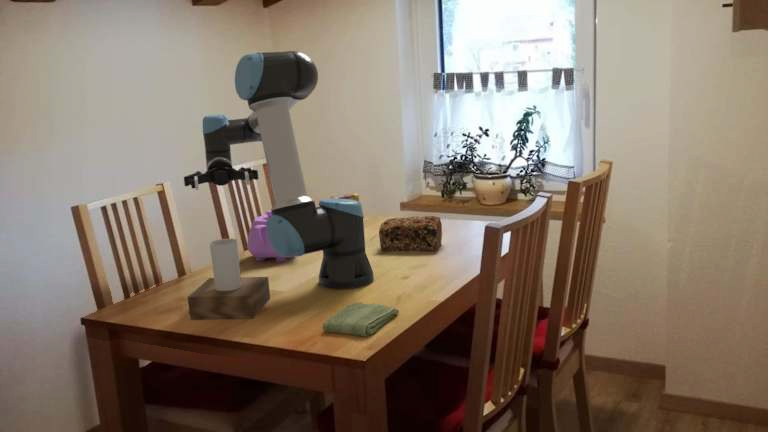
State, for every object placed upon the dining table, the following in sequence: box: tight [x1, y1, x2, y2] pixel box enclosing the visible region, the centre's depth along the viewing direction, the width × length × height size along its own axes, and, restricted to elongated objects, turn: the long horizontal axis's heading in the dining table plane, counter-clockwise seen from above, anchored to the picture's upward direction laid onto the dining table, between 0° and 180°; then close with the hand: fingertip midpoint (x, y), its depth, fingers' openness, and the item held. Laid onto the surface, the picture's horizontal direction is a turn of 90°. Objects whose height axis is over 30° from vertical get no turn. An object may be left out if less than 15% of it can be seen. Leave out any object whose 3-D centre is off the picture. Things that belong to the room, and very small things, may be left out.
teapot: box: [246, 209, 287, 263], centre depth 250 cm, size 20×20×15 cm
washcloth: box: [321, 301, 400, 338], centre depth 189 cm, size 13×18×3 cm
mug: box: [209, 238, 241, 291], centre depth 203 cm, size 10×7×12 cm, turn 162°
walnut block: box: [187, 276, 271, 321], centre depth 204 cm, size 16×16×6 cm
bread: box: [378, 215, 443, 252], centre depth 254 cm, size 19×11×10 cm, turn 76°
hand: (222, 182), depth 216 cm, fingers open, 13 cm apart
